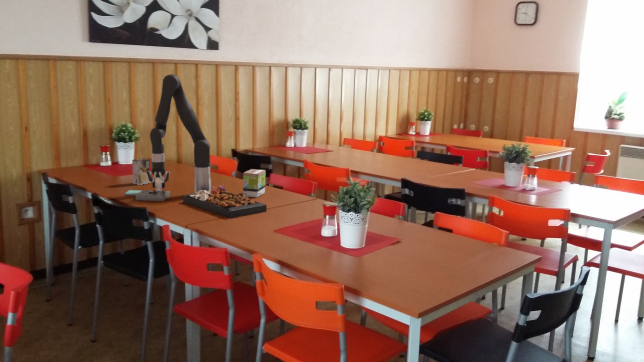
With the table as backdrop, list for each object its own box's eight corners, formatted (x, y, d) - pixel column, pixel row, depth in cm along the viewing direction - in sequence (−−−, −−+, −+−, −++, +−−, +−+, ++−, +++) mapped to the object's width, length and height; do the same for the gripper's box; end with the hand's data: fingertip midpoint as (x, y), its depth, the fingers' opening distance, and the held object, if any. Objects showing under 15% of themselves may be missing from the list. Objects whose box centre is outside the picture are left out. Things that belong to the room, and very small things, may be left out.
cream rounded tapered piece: (163, 193, 350) (163, 176, 348) (161, 194, 345) (161, 178, 343) (156, 192, 350) (156, 176, 348) (154, 194, 345) (154, 178, 343)
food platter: (182, 203, 328) (182, 185, 326) (218, 197, 345) (218, 180, 343) (229, 219, 297) (230, 200, 295) (266, 212, 314) (266, 194, 312)
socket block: (170, 195, 343) (169, 190, 342) (163, 201, 329) (163, 196, 328) (143, 194, 343) (143, 190, 342) (135, 200, 329) (135, 195, 328)
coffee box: (144, 182, 379) (144, 158, 376) (150, 183, 376) (150, 159, 373) (132, 184, 372) (132, 159, 369) (138, 185, 368) (138, 160, 365)
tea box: (258, 197, 346) (258, 173, 343) (242, 196, 348) (242, 172, 345) (265, 192, 361) (265, 169, 358) (250, 191, 363) (250, 168, 360)
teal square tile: (144, 192, 350) (144, 190, 350) (140, 195, 341) (139, 193, 341) (129, 191, 350) (129, 190, 350) (124, 194, 341) (124, 193, 341)
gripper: (171, 160, 347) (172, 187, 350) (148, 159, 347) (148, 186, 350) (168, 162, 340) (169, 190, 343) (144, 161, 340) (145, 189, 343)
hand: (158, 188), depth 347 cm, fingers open, 4 cm apart
